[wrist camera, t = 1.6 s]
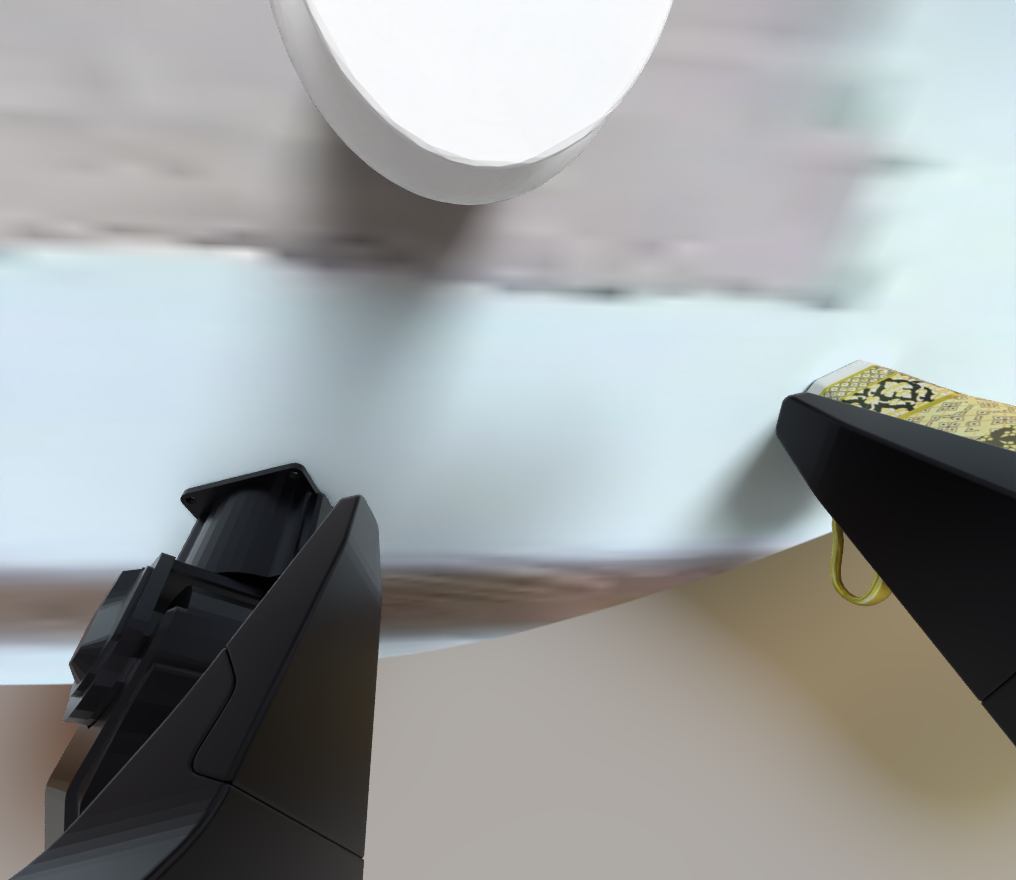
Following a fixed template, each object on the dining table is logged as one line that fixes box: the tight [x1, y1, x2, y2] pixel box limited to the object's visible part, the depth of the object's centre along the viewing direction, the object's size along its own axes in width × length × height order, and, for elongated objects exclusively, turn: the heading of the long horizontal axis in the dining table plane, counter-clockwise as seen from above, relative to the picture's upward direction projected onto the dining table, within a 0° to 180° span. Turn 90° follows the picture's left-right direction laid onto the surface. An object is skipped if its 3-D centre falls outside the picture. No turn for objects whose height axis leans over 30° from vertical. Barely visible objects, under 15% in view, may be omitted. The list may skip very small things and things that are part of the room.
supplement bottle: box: [270, 0, 673, 205], centre depth 10 cm, size 7×7×13 cm
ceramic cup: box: [806, 360, 1016, 606], centre depth 25 cm, size 13×10×10 cm
